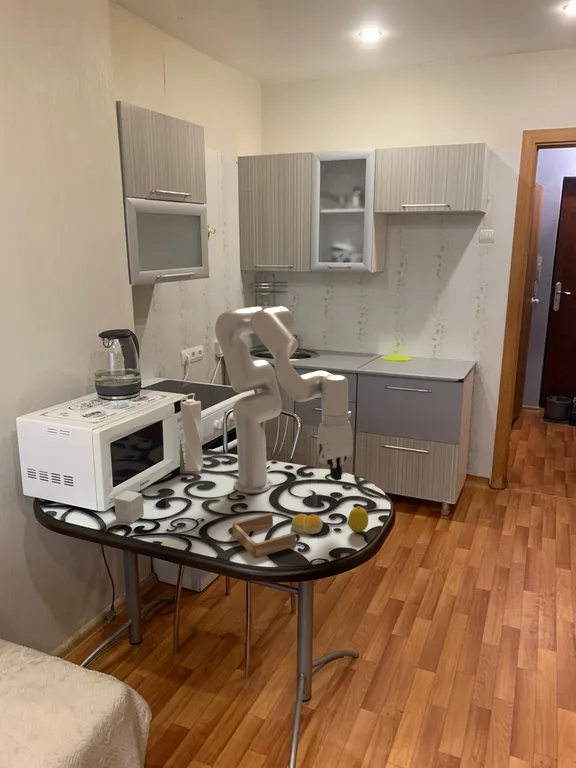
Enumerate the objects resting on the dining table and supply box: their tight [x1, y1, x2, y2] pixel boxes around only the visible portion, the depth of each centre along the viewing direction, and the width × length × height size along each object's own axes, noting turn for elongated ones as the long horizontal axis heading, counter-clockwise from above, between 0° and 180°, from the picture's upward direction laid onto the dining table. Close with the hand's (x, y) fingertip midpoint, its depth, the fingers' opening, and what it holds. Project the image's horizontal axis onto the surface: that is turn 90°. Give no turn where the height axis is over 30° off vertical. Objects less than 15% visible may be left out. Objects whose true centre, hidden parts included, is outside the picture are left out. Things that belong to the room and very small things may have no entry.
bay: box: [231, 512, 297, 559], centre depth 164 cm, size 14×12×4 cm
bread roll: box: [291, 513, 324, 535], centre depth 171 cm, size 8×9×4 cm
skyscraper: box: [178, 393, 204, 475], centre depth 212 cm, size 8×8×28 cm
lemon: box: [348, 506, 369, 534], centre depth 167 cm, size 6×6×8 cm
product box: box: [113, 490, 145, 524], centre depth 178 cm, size 6×6×7 cm
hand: (336, 478), depth 172 cm, fingers closed
